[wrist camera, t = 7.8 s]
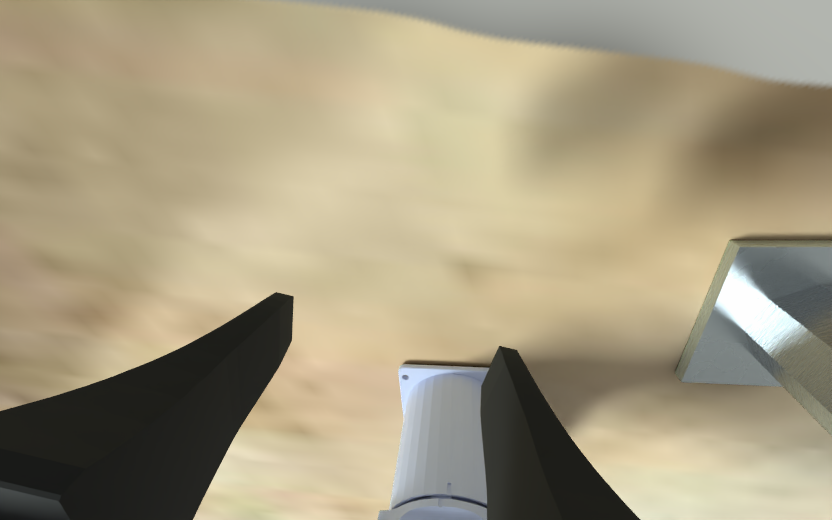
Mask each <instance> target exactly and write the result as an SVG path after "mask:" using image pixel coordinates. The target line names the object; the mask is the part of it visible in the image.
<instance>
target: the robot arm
mask: <svg viewBox="0 0 832 520" xmlns="http://www.w3.org/2000/svg"><path fill="white" fill-rule="evenodd" d="M293 297H294V296H290V295H285V294H281V293H277V292H276V293H274V294H272V295H271V296H269V297H267V298H266V299H264V300H263V301H261V302H260V303H258V304H256V305H255V306H253V307H252V308H250V309H248V310H247V311H245V312H244V313H242V314H241V315H239V316H237V317H236V318H234V319H232V320H231V321H229V322H227V323H226V324H224V325H222V326H221V327H219V328H217V329H215V330H214V331H212V332H210V333H208V334H206V335H204V336H203V337H201V338H199V339H197V340H195V341H193V342H191V343H190V344H188V345H186V346H184V347H182V348H180V349H178V350H175V351H173V352H171V353H169V354H167V355H164V356H162V357H160V358H158V359H156V360H153V361H151V362H149V363H146V364H144V365H141V366H139V367H136V368H133V369H131V370H128V371H126V372H123V373H121V374H118V375H116V376H113V377H110V378H108V379H105V380H102V381H99V382H96V383H93V384H90V385H88V386H85V387H82V388H78V389H75V390H72V391H69V392H66V393H63V394H60V395H56V396H53V397H50V398H46V399H43V400H39V401H36V402H32V403H28V404H25V405H21V406H17V407H14V408H10V409H7V410H3V411H0V520H193V518H194V516H195V514H196V512H197V510H198V508H199V506H200V504H201V501H202V499H203V497H204V495H205V493H206V491H207V489H208V487H209V485H210V483H211V481H212V479H213V477H214V475H215V473H216V471H217V469H218V467H219V466H220V464H221V462H222V460H223V458H224V456H225V454H226V452H227V450H228V448H229V446H230V445H231V443H232V441H233V439H234V437H235V435H236V434H237V432H238V430H239V429H240V427H241V425H242V424H243V422H244V421H245V419H246V417H247V416H248V414H249V413H250V411H251V410H252V408H253V407H254V405H255V404H256V402H257V400H258V399H259V397H260V396H261V394H262V393H263V391H264V390H265V388H266V387H267V385H268V383H269V382H270V380H271V379H272V377H273V376H274V374H275V372H276V371H277V369H278V368H279V366H280V364H281V362H282V360H283V358H284V356H285V354H286V352H287V349H288V347H289V345H290V343H291V341H292V322H293ZM398 373H399V382H400V390H401V399H402V408H403V416H404V422H403V428H402V434H401V440H400V446H399V452H398V458H397V465H396V471H395V477H394V483H393V489H392V495H391V501H390V508H389V510H381V511H379V515H378V520H640V519H639V518H638V517H637V516H636V515H635V514H634V513H633V512H632V510H631V509H630V508H629V507H628V506H627V505H626V504H625V503H624V502H623V501H622V500H621V499H620V497H619V496H618V495H617V494H616V493H615V492H614V491H613V490H612V488H611V487H610V486H609V485H608V484H607V483H606V482H605V481H604V479H603V478H602V477H601V476H600V475H599V473H598V472H597V471H596V470H595V469H594V467H593V466H592V465H591V464H590V462H589V461H588V460H587V458H586V457H585V456H584V455H583V453H582V452H581V451H580V449H579V448H578V447H577V446H576V444H575V443H574V442H573V440H572V439H571V437H570V436H569V435H568V433H567V432H566V430H565V429H564V427H563V426H562V424H561V423H560V422H559V420H558V419H557V417H556V416H555V414H554V412H553V411H552V409H551V408H550V406H549V405H548V403H547V401H546V400H545V398H544V396H543V395H542V393H541V391H540V390H539V388H538V386H537V385H536V383H535V381H534V379H533V378H532V376H531V374H530V372H529V371H528V369H527V367H526V365H525V364H524V362H523V360H522V358H521V357H520V355H519V353H518V351H517V350H514V349H510V348H506V347H502V346H499V348H498V350H497V352H496V354H495V357H494V359H493V361H492V363H491V366H490V368H484V367H460V366H437V365H413V364H402V365H400V367H399V371H398ZM405 375H407V376H405Z"/></svg>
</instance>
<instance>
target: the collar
mask: <svg viewBox="0 0 832 520" xmlns="http://www.w3.org/2000/svg"><path fill="white" fill-rule="evenodd" d="M744 332H745V335H746V338H747V341H748V344H749V347H750V350H751V353H752V356H753V357H754V358H755V359H756V360H757V361H758V362H759V363H760V364H761V365H762V366H763V367H764V368H765V369H766V370H767V371H768V372H769V373H770V374H771V375H772V376H773V377H774V378H775V379H776V380H777V381H778V382H779V383H780V384H781V385H782V386H783V387H784V388H785V389H786V390H787V391H788V392H789V393H790V394H791V395H792V396H793V397H794V398H795V399H796V400H797V401H798V402H799V403H800V404H801V405H802V406H803V407H804V408H805V409H806V410H807V411H808V413H809V414H810V415H811V416H812V417H813V418H814V419H815V420H816V421H817V422H818V423H819V424H820V425H821V426H822V427H823V428H824V429H825V430H826V431H827V432H828V433H829V434H830V435H831V436H832V287H831V286H827V285H822V284H818V285H815V286H812V287H809V288H806V289H803V290H800V291H797V292H794V293H791V294H788V295H785V296H782V297H779V298H776V299H773V300H771V301H770V302H769V303H768V304H767V305H766V306H765V307H764V308H763V309H762V311H761V312H760V313H759V314H758V315H757V316H756V317H755V318H754V320H753V321H752V322H751V323H750V324H749V325H748V326H747V328H746V329H745V330H744Z"/></svg>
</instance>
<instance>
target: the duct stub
mask: <svg viewBox="0 0 832 520" xmlns="http://www.w3.org/2000/svg"><path fill="white" fill-rule="evenodd" d="M818 284H822V285H827V286H831V287H832V240H730V241H729V243H728V246H727V248H726V250H725V253H724V255H723V258H722V260H721V263H720V265H719V267H718V270H717V272H716V275H715V277H714V279H713V282H712V284H711V287H710V289H709V292H708V294H707V296H706V299H705V301H704V304H703V306H702V308H701V311H700V313H699V316H698V318H697V321H696V323H695V325H694V328H693V330H692V333H691V335H690V337H689V340H688V342H687V345H686V347H685V350H684V352H683V354H682V357H681V359H680V362H679V364H678V366H677V369H676V371H675V374H676V375H677V377H678V378H679V380H680V381H681V382H690V383H712V384H735V385H757V386H780V387H783V386H782V385H781V384H780V383H779V382H778V381H777V380H776V379H775V378H774V377H773V376H772V375H771V374H770V373H769V372H768V371H767V370H766V369H765V368H764V367H763V366H762V365H761V364H760V363H759V362H758V361H757V360H756V359H755V358H754V357H753V356H752V353H751V350H750V347H749V344H748V341H747V338H746V335H745V332H744V330H745V329H746V328H747V326H748V325H749V324H750V323H751V322H752V321H753V320H754V318H755V317H756V316H757V315H758V314H759V313H760V312H761V311H762V309H763V308H764V307H765V306H766V305H767V304H768V303H769V302H770V301H771V300H773V299H776V298H779V297H782V296H785V295H788V294H791V293H794V292H797V291H800V290H803V289H806V288H809V287H812V286H815V285H818Z"/></svg>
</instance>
